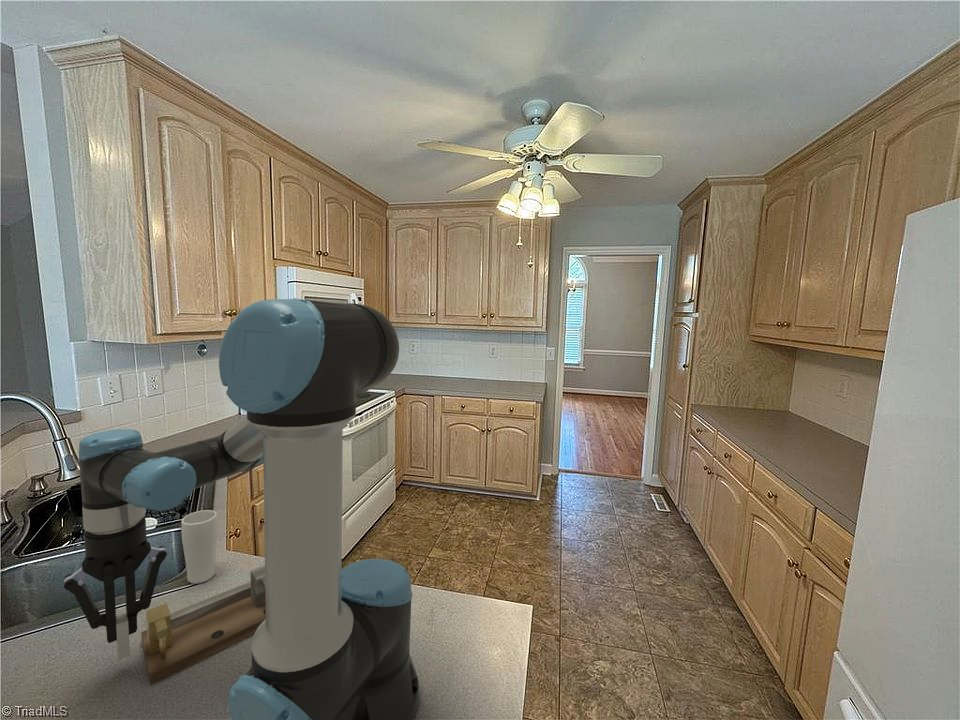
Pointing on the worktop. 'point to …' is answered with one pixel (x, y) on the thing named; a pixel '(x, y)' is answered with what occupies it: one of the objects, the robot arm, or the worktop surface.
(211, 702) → the worktop surface
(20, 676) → the worktop surface
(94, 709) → the worktop surface
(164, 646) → the sliding leg
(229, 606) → the hole board
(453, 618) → the worktop surface
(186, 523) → the drinking glass
